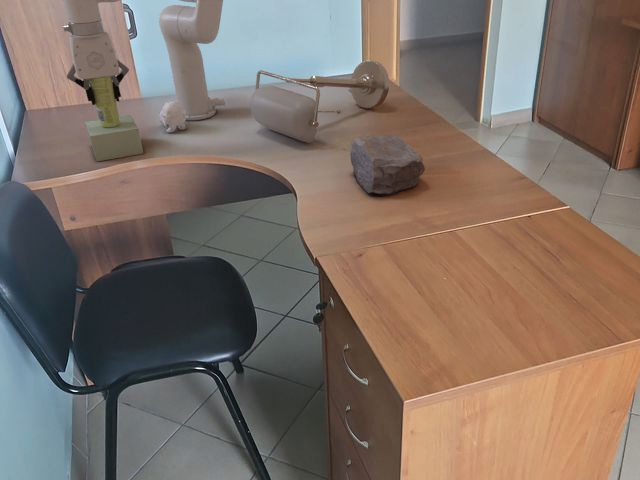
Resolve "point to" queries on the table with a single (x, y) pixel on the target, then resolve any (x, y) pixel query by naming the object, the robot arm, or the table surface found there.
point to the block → (115, 139)
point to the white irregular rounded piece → (173, 116)
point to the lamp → (301, 111)
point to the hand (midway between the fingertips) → (105, 101)
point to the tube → (105, 101)
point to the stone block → (385, 164)
